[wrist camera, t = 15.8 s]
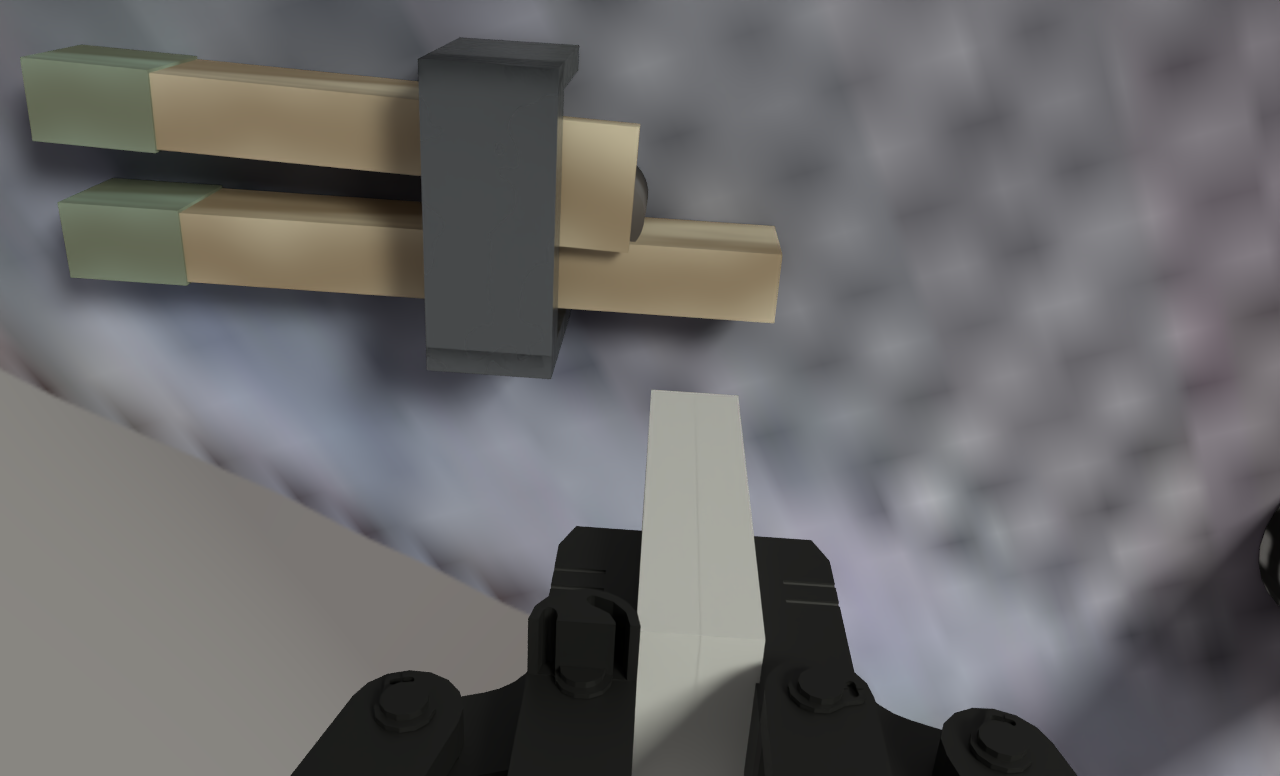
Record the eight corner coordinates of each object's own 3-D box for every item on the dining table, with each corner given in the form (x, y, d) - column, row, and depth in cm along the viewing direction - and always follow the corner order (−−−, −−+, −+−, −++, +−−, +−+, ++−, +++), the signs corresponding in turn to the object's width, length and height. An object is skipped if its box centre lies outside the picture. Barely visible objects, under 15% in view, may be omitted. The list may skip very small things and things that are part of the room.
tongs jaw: (81, 44, 36) (4, 60, 32) (645, 101, 36) (639, 124, 32) (96, 163, 37) (25, 192, 33) (634, 217, 37) (628, 253, 33)
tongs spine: (103, 118, 37) (46, 138, 33) (781, 165, 36) (790, 189, 33) (123, 247, 39) (70, 277, 35) (766, 292, 38) (774, 326, 35)
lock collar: (459, 37, 35) (418, 58, 29) (579, 45, 35) (558, 68, 29) (463, 307, 39) (426, 370, 33) (570, 315, 39) (550, 379, 33)
